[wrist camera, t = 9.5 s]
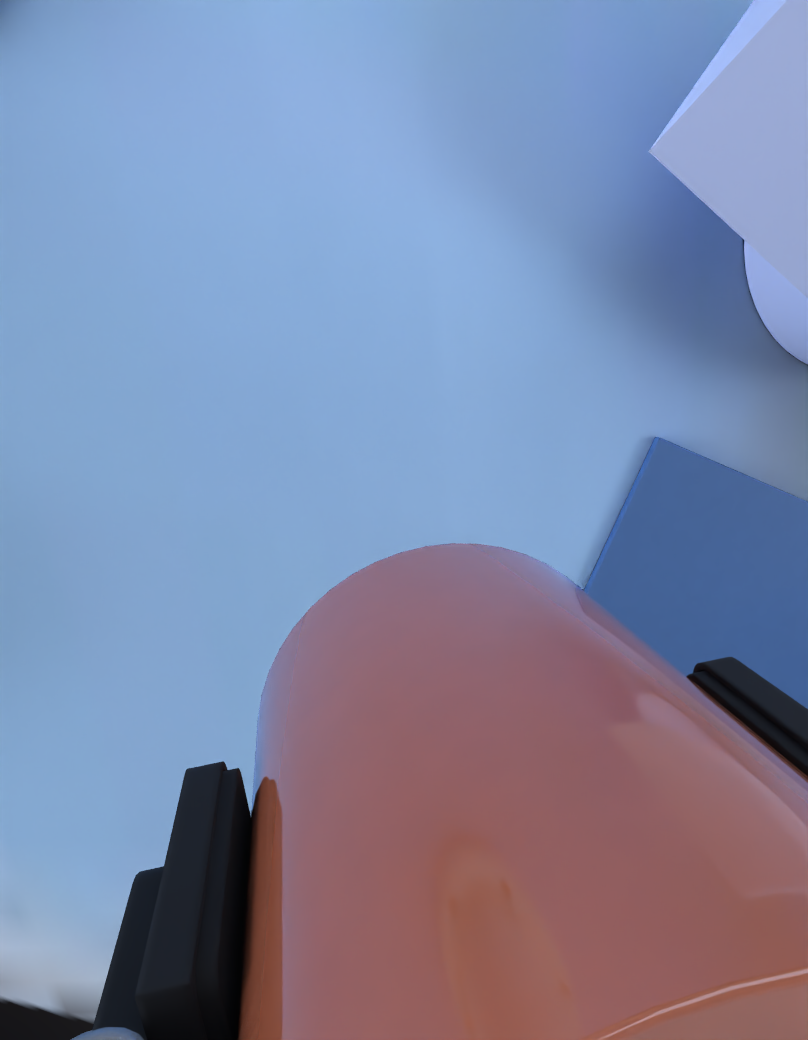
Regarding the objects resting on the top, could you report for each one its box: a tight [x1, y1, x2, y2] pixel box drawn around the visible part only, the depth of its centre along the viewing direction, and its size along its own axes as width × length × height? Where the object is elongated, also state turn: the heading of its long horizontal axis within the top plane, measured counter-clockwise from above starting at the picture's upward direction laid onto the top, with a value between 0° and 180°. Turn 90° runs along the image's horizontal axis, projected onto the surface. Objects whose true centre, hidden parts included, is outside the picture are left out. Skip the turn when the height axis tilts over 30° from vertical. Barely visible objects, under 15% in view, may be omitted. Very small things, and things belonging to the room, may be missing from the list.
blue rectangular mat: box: [584, 437, 808, 709], centre depth 27 cm, size 20×16×1 cm
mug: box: [236, 543, 808, 1040], centre depth 10 cm, size 10×7×9 cm
